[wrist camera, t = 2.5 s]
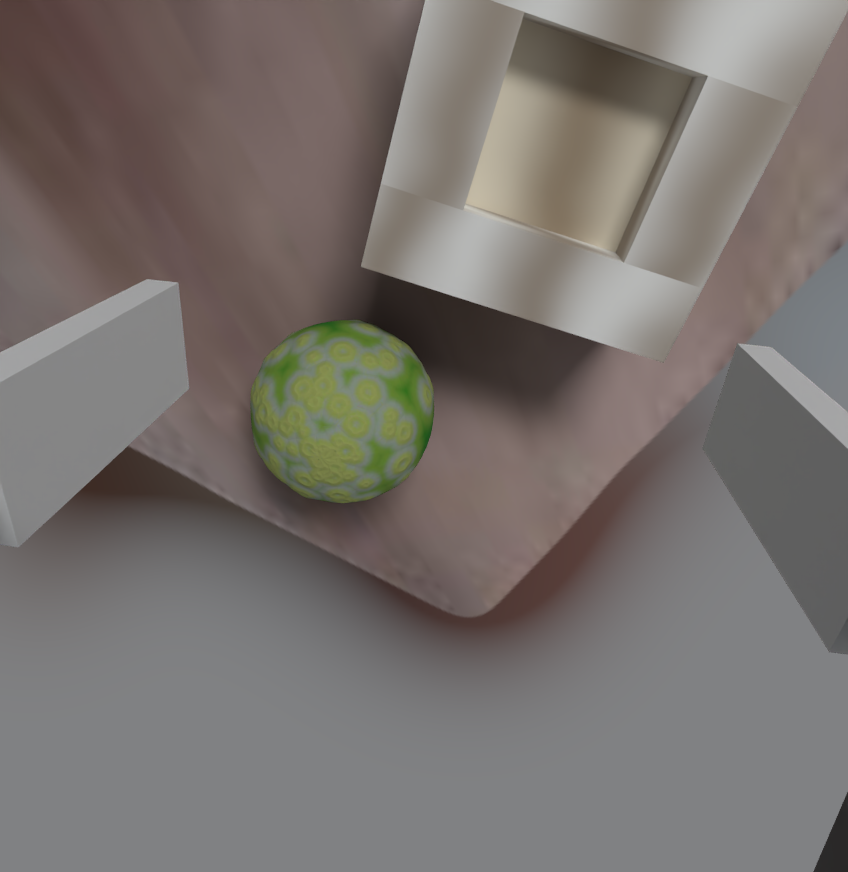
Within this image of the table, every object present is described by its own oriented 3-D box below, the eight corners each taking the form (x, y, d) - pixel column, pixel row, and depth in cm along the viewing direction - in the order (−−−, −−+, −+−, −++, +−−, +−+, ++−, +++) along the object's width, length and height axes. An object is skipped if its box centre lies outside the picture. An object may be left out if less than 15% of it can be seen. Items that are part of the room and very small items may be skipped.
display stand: (387, 231, 34) (360, 266, 27) (468, -86, 27) (461, -149, 20) (628, 309, 35) (663, 362, 28) (764, 20, 28) (856, -6, 21)
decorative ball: (254, 324, 37) (182, 394, 29) (411, 275, 35) (386, 335, 26) (317, 462, 42) (272, 559, 33) (462, 426, 39) (454, 520, 31)
